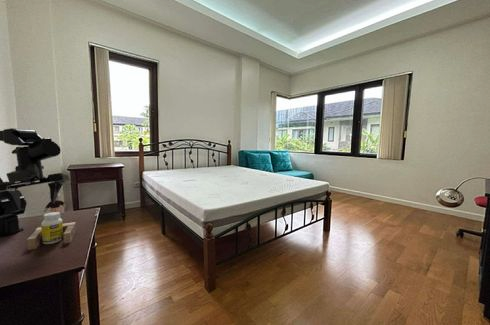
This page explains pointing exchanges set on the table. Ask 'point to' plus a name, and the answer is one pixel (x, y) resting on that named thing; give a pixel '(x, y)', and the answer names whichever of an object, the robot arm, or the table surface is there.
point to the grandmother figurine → (55, 205)
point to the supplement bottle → (52, 228)
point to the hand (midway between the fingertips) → (36, 206)
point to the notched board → (36, 237)
